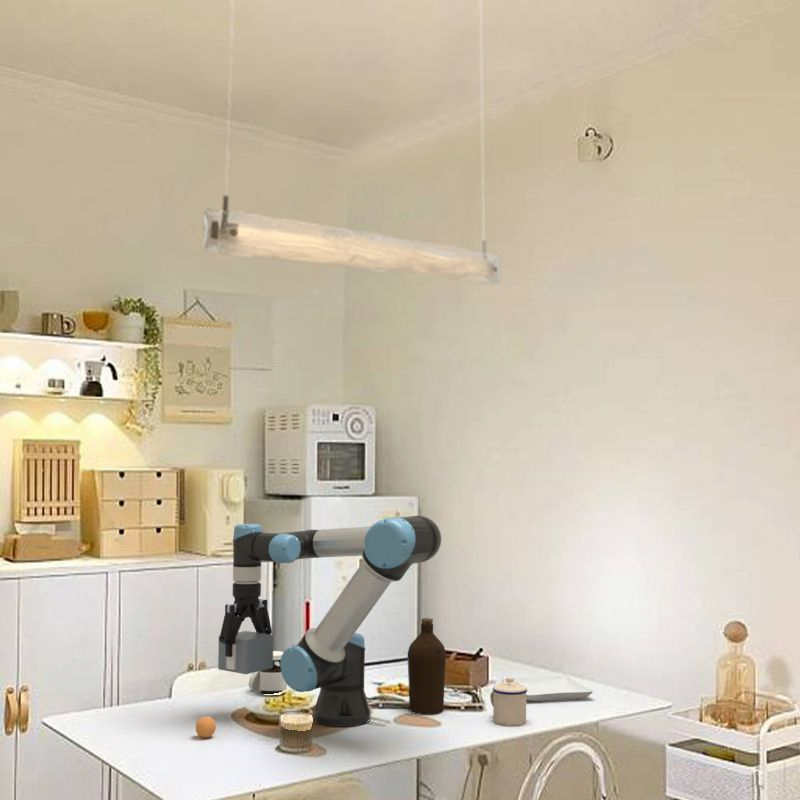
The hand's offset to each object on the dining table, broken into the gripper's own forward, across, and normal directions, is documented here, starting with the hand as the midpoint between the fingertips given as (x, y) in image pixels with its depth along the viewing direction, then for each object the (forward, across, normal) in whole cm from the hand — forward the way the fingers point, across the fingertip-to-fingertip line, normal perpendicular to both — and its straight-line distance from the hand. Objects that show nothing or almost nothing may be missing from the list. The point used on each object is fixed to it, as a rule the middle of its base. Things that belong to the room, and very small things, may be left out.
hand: (245, 665), depth 284 cm
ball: (+11, +20, +6) cm, 24 cm away
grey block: (+1, 0, 0) cm, 1 cm away
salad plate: (+15, -75, +50) cm, 91 cm away
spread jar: (+14, -25, -16) cm, 33 cm away
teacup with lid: (+14, -41, +56) cm, 71 cm away
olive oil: (+14, -36, +33) cm, 51 cm away
